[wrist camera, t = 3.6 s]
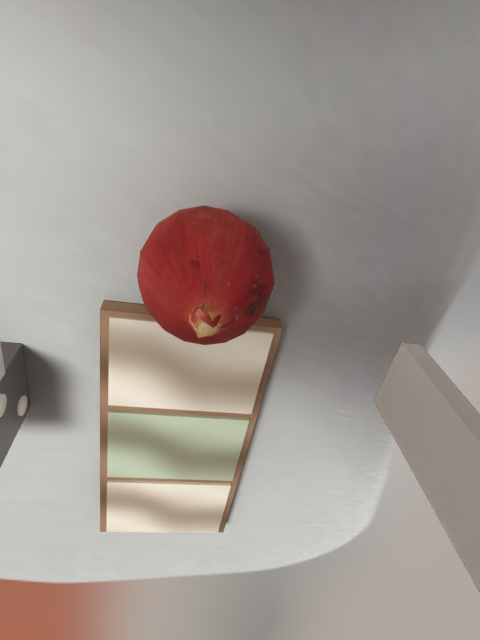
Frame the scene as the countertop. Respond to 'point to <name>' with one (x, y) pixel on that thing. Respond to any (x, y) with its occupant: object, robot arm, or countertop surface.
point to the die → (12, 395)
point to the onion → (205, 275)
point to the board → (175, 421)
